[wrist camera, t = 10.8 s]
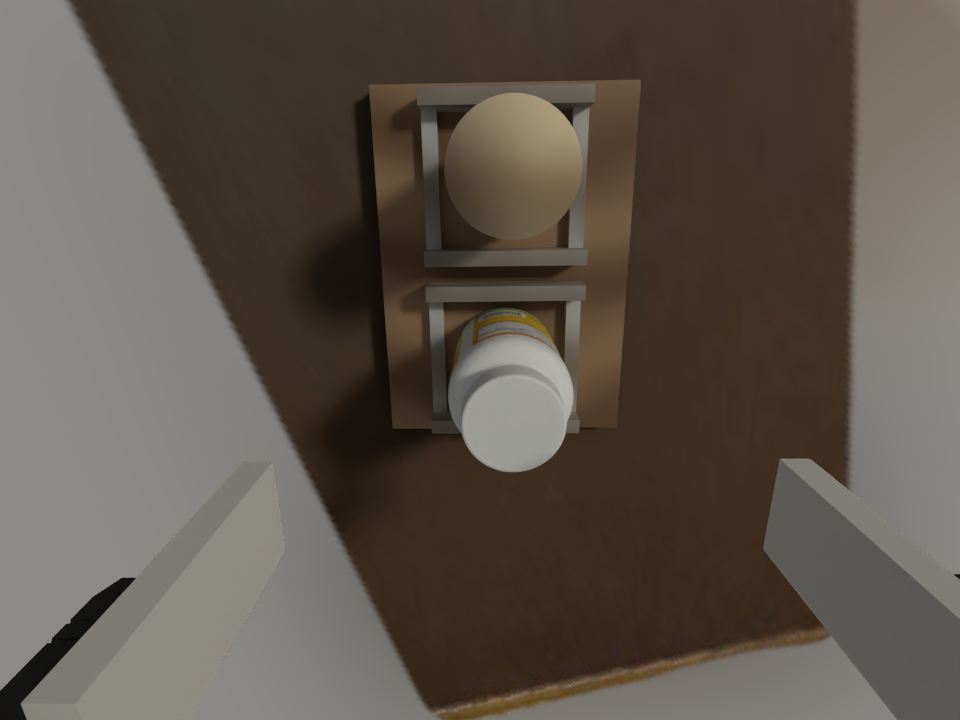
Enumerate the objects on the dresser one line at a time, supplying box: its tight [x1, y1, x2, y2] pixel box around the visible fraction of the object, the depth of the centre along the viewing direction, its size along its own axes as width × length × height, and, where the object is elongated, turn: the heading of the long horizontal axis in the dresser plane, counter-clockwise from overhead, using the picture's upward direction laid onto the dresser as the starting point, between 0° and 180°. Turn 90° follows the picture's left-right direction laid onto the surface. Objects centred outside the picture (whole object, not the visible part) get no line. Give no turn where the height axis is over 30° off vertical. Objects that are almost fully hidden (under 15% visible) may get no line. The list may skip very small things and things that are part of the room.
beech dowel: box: [444, 93, 582, 240], centre depth 21 cm, size 5×5×9 cm
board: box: [369, 80, 641, 434], centre depth 27 cm, size 18×13×3 cm
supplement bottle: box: [448, 308, 574, 472], centre depth 23 cm, size 5×5×10 cm
